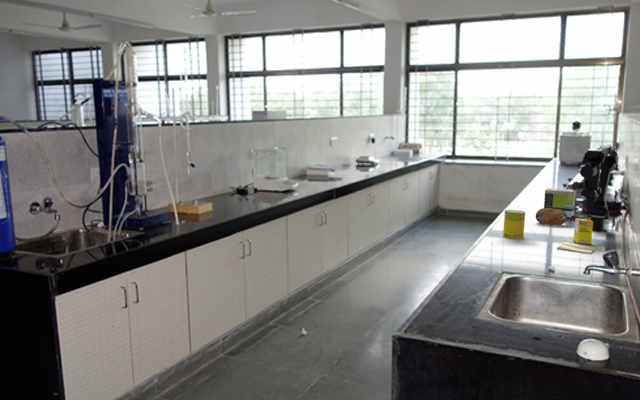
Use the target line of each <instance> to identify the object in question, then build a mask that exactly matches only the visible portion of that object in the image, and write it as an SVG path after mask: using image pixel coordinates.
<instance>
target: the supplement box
mask: <svg viewBox="0 0 640 400" xmlns="http://www.w3.org/2000/svg"><path fill="white" fill-rule="evenodd" d="M592 229H593V221H591V218H575V220H574V232H573V242H572V243H577V244H584V245H591V246H592V240H593V239H592V238H593V237H592V236H593V231H592Z"/></svg>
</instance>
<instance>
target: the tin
mask: <svg viewBox="0 0 640 400" xmlns="http://www.w3.org/2000/svg"><path fill="white" fill-rule="evenodd" d="M535 219H536V221H537V222H538V224H541V225H549V224H551V225H553V226H562V225H564V224H565V223H566V222H567V220H568V217H567V214H566V213H565V212H564V211H563V210H561V209H548V208H544V207H543V208H540V209H538V210H537V212H536V213H535ZM551 225H550V226H551Z"/></svg>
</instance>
